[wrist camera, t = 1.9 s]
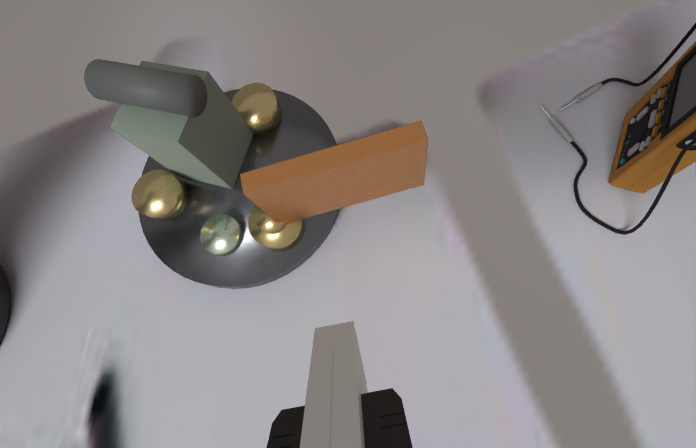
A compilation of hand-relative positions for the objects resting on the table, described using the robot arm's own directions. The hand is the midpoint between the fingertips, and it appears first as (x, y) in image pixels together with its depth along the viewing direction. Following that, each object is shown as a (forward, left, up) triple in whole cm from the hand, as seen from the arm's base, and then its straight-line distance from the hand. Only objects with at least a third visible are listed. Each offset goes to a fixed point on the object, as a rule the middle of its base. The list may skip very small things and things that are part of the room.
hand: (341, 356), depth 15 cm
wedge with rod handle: (-20, +13, -16) cm, 28 cm away
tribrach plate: (-17, +11, -18) cm, 27 cm away
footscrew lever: (-6, +10, -15) cm, 19 cm away
